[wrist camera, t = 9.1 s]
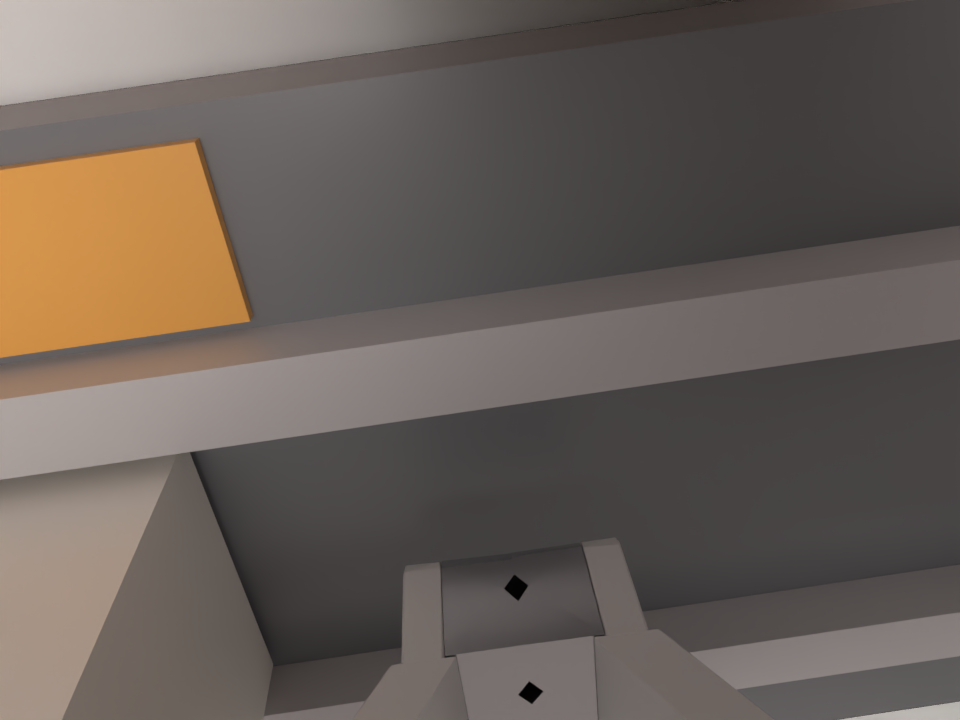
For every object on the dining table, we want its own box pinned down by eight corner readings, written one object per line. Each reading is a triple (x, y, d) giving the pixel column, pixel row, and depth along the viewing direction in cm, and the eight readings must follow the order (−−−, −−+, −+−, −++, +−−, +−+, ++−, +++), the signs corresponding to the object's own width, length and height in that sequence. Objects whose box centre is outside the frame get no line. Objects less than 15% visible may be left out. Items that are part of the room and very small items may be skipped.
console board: (1309, -81, 11) (1593, -81, 8) (1052, 604, 18) (1161, 719, 15) (-526, 180, 11) (-829, 264, 8) (-50, 767, 18) (-129, 913, 15)
